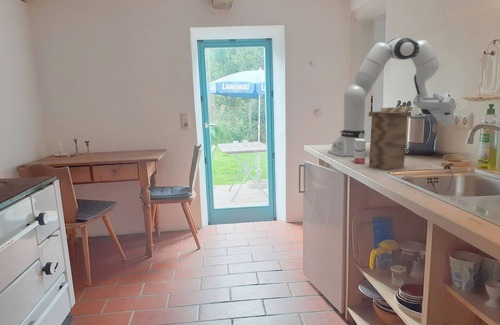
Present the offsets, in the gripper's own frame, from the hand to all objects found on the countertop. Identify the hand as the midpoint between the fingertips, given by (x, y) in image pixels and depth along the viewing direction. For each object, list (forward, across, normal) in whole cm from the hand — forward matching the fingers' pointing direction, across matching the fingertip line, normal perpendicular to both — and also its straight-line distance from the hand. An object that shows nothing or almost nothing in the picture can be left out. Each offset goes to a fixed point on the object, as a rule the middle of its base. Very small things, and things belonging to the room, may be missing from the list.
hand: (425, 95), depth 178 cm
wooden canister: (+10, +3, +44) cm, 45 cm away
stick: (+18, +3, +19) cm, 27 cm away
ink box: (+11, -13, +45) cm, 48 cm away
